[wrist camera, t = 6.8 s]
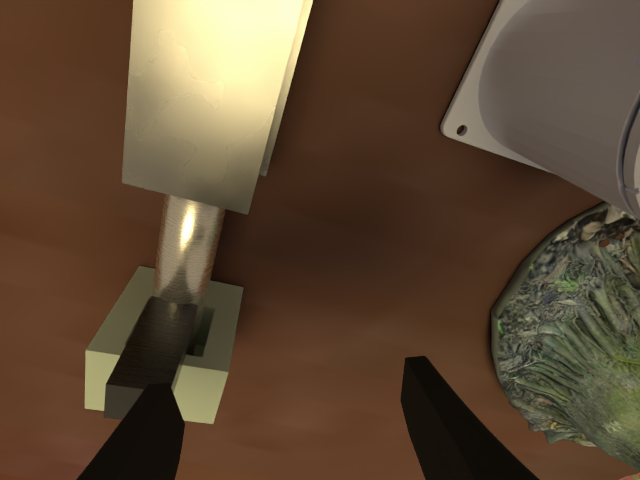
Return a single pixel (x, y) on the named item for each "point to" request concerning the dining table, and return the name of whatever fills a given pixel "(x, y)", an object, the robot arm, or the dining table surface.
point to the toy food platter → (632, 477)
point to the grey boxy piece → (208, 94)
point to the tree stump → (576, 334)
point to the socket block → (198, 370)
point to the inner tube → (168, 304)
